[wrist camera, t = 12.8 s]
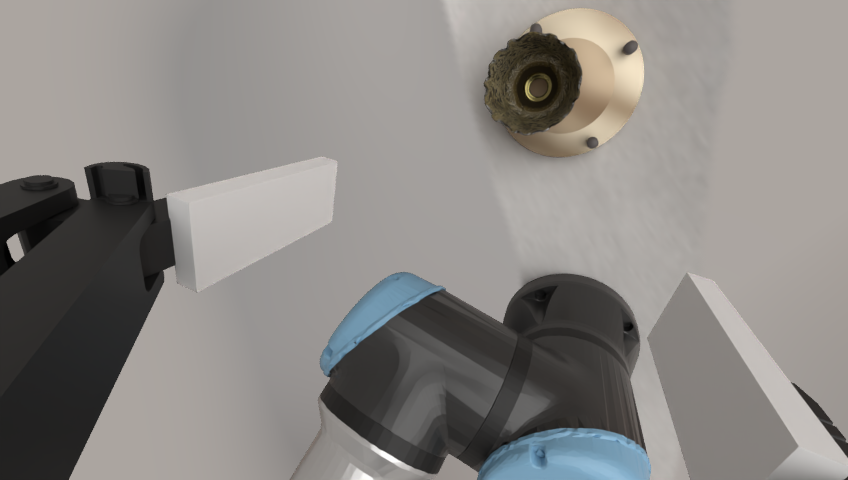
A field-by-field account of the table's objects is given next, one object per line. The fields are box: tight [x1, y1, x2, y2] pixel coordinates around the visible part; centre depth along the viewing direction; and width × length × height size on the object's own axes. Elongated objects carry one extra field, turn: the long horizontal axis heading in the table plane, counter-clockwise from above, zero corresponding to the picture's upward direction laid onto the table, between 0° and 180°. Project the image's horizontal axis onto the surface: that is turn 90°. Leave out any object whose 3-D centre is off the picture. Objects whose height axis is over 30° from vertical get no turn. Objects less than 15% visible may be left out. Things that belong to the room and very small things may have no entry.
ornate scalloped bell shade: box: [484, 32, 583, 136], centre depth 32 cm, size 8×7×8 cm
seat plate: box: [506, 8, 644, 157], centre depth 35 cm, size 13×13×3 cm
